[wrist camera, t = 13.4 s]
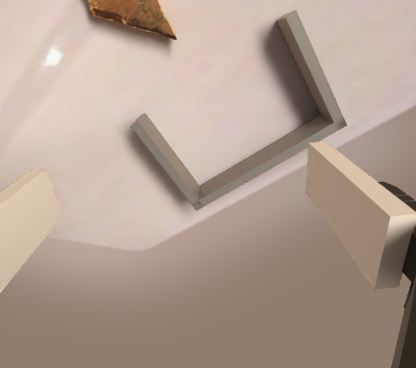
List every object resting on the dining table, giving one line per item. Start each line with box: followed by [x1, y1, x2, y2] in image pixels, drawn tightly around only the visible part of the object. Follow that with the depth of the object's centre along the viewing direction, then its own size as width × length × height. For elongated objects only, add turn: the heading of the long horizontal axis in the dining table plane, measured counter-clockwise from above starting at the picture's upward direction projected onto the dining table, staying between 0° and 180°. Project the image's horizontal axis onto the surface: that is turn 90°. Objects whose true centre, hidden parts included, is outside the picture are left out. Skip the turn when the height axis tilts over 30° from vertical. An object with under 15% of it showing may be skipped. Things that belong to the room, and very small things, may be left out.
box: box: [130, 10, 347, 211], centre depth 37 cm, size 14×22×4 cm, turn 123°
